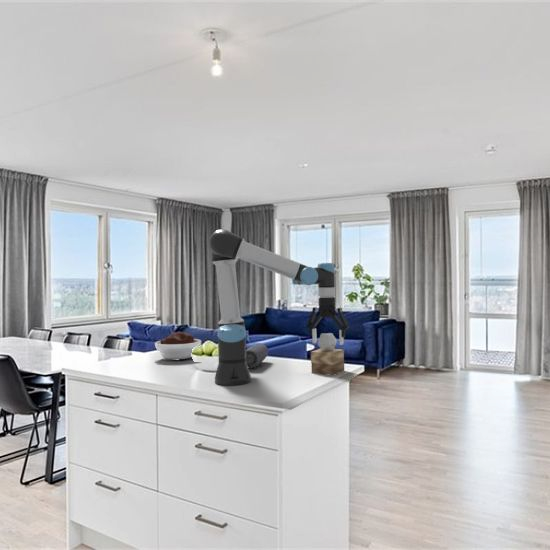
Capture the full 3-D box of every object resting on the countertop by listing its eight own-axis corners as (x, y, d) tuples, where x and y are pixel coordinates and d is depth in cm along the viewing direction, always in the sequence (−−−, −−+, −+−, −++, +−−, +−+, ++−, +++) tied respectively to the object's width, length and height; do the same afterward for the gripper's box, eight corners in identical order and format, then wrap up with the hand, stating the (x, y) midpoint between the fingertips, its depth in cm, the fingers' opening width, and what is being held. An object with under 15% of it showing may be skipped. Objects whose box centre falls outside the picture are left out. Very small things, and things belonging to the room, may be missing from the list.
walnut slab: (311, 373, 219) (311, 362, 219) (322, 369, 229) (322, 358, 229) (333, 376, 213) (333, 364, 213) (344, 371, 223) (344, 360, 223)
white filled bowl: (145, 361, 259) (144, 333, 259) (173, 354, 282) (172, 328, 282) (185, 364, 250) (184, 334, 250) (210, 356, 272) (209, 329, 273)
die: (331, 354, 215) (341, 335, 218) (314, 344, 216) (324, 326, 219) (329, 357, 223) (339, 340, 226) (313, 348, 224) (322, 330, 227)
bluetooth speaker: (251, 361, 252) (251, 342, 252) (269, 361, 250) (268, 342, 250) (239, 370, 230) (239, 349, 230) (259, 370, 228) (258, 349, 228)
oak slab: (311, 362, 219) (310, 351, 219) (322, 358, 229) (322, 348, 229) (333, 364, 213) (332, 353, 213) (343, 360, 223) (343, 349, 223)
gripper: (355, 296, 218) (356, 344, 218) (306, 296, 231) (307, 341, 231) (348, 297, 211) (350, 346, 211) (298, 297, 225) (299, 343, 225)
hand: (327, 343), depth 221 cm, fingers open, 13 cm apart
